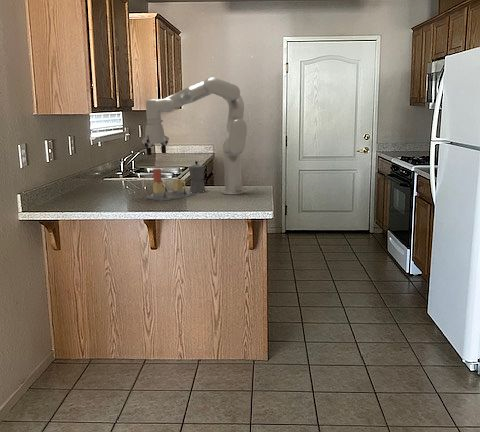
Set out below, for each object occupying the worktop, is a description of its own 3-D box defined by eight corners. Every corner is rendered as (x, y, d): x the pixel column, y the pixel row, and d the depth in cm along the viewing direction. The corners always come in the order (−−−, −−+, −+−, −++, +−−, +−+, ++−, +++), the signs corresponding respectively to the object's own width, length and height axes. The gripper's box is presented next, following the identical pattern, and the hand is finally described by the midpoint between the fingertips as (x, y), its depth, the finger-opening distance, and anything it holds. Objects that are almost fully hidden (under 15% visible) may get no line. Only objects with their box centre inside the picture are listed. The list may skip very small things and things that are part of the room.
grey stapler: (172, 194, 316) (166, 178, 313) (165, 197, 314) (158, 181, 311) (166, 190, 331) (160, 175, 328) (159, 193, 330) (152, 178, 327)
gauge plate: (195, 195, 309) (195, 179, 307) (161, 200, 292) (160, 184, 291) (180, 193, 318) (179, 178, 317) (146, 198, 302) (145, 182, 300)
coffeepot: (204, 193, 315) (202, 162, 311) (187, 193, 315) (186, 162, 312) (207, 189, 330) (206, 159, 326) (192, 189, 330) (190, 160, 327)
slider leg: (167, 195, 299) (166, 169, 296) (162, 196, 296) (161, 170, 294) (158, 194, 305) (157, 168, 302) (153, 194, 302) (152, 169, 299)
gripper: (163, 121, 303) (165, 152, 306) (136, 123, 291) (139, 155, 295) (171, 121, 298) (173, 152, 301) (144, 123, 286) (147, 156, 289)
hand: (156, 154), depth 298 cm, fingers open, 9 cm apart
